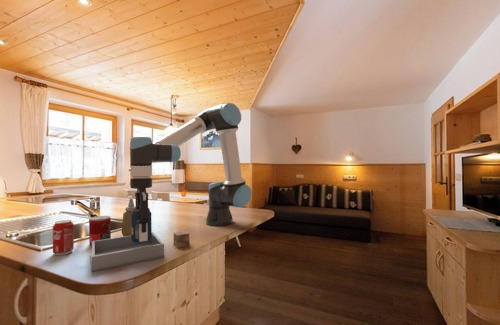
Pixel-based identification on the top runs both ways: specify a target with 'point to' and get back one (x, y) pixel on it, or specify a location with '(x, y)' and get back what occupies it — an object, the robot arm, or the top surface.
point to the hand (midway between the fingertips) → (141, 238)
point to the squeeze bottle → (127, 219)
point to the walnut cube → (181, 239)
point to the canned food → (99, 228)
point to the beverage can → (63, 237)
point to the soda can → (135, 226)
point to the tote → (124, 252)
